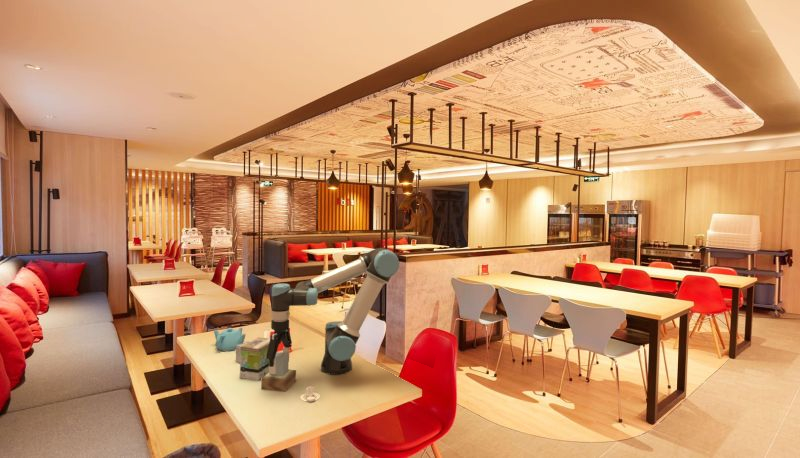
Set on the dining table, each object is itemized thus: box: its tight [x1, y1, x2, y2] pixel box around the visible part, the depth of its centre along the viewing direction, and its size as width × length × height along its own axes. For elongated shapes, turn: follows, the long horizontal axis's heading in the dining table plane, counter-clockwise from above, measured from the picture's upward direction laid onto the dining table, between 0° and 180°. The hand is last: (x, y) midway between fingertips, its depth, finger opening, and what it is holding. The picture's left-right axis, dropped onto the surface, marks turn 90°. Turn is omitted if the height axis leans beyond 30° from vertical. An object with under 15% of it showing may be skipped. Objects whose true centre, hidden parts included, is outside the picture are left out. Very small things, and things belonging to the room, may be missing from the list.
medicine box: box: [235, 341, 251, 364], centre depth 203 cm, size 8×4×9 cm, turn 148°
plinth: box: [260, 368, 297, 392], centre depth 177 cm, size 11×11×5 cm
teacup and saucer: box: [299, 386, 320, 402], centre depth 166 cm, size 9×8×4 cm
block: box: [270, 351, 290, 376], centre depth 176 cm, size 6×6×8 cm
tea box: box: [239, 336, 270, 381], centre depth 188 cm, size 15×10×15 cm, turn 168°
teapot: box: [213, 327, 247, 352], centre depth 222 cm, size 15×15×11 cm
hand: (279, 367), depth 176 cm, fingers open, 13 cm apart
